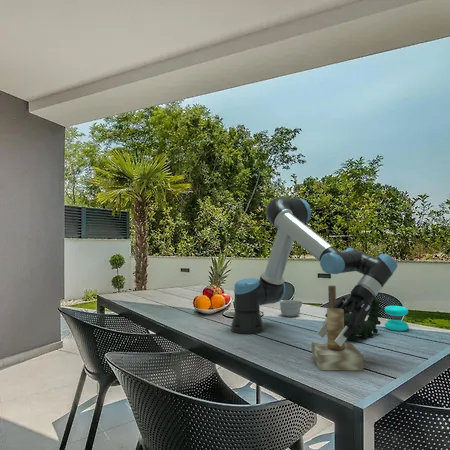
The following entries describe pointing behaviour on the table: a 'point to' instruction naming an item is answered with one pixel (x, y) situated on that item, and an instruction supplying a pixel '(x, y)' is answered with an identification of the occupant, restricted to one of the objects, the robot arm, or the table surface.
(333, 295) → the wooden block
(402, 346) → the table surface
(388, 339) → the table surface
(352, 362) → the birch socket block
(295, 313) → the teacup
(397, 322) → the cyan spool
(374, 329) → the toy figurine
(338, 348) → the oak peg
